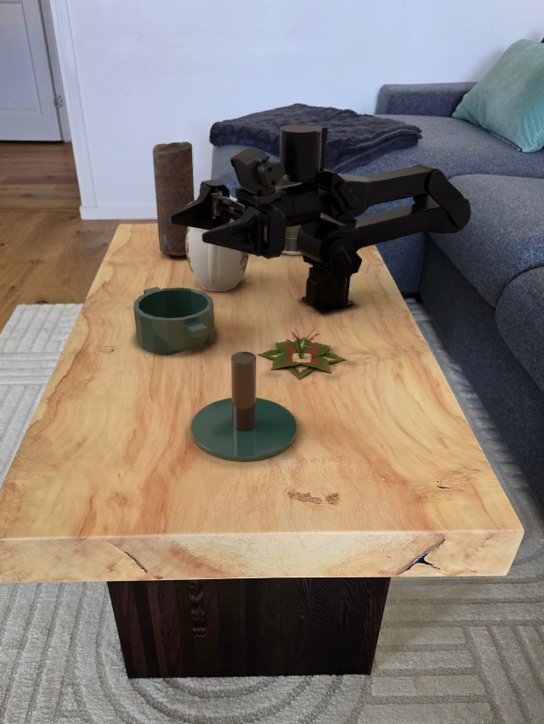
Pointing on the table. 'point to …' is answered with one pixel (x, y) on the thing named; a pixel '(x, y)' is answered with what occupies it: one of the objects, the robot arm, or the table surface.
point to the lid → (243, 419)
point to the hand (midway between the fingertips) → (186, 228)
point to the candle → (172, 192)
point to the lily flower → (295, 347)
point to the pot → (174, 320)
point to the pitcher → (214, 262)
